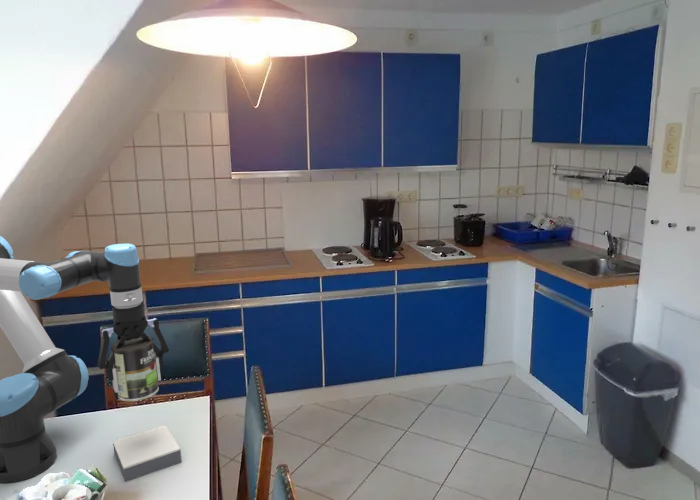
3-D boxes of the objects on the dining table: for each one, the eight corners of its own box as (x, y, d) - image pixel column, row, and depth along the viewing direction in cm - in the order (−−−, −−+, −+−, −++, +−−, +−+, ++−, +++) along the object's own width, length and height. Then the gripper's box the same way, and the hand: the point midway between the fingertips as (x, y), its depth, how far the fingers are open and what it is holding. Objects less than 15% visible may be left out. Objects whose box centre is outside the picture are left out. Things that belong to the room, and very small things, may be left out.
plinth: (114, 454, 142) (112, 441, 141) (166, 437, 149) (165, 424, 149) (125, 481, 130) (123, 467, 130) (181, 461, 138) (180, 448, 137)
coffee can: (166, 384, 143) (160, 335, 140) (145, 403, 133) (139, 351, 130) (131, 382, 145) (125, 334, 142) (109, 400, 135) (102, 349, 132)
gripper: (81, 317, 124) (94, 403, 129) (176, 298, 137) (184, 377, 142) (76, 310, 130) (88, 391, 135) (167, 292, 143) (175, 368, 148)
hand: (137, 384), depth 139 cm, fingers closed on coffee can, 10 cm apart
